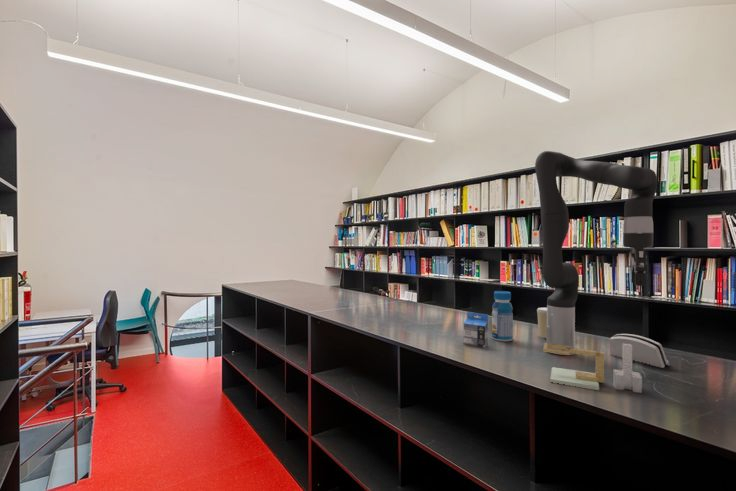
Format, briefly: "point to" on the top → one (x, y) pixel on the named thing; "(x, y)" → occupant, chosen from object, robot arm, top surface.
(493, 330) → the beverage bottle
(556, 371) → the mat
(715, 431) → the top surface
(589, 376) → the square loop paddle
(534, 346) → the top surface
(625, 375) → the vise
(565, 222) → the robot arm
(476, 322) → the label tape cartridge
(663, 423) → the top surface
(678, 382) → the top surface
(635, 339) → the white arched piece
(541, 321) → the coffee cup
